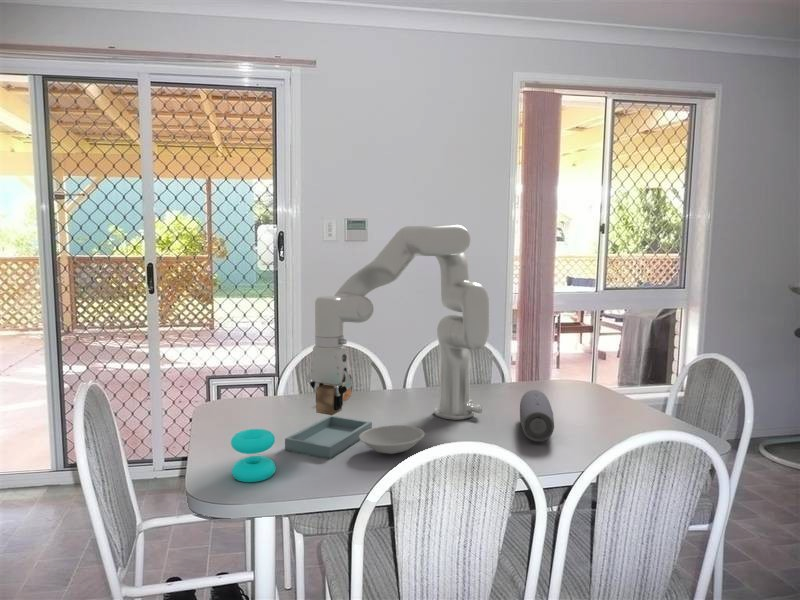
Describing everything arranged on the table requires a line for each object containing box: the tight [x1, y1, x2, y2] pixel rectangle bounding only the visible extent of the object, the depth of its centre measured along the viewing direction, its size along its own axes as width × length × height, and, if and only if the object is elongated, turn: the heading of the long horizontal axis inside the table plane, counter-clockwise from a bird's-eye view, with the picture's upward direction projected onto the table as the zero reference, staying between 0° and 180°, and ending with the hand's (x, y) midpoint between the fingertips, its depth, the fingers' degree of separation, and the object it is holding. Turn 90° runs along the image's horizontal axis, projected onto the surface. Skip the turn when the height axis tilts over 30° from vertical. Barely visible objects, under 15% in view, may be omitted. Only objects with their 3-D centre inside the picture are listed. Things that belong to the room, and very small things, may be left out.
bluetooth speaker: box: [519, 389, 555, 442], centre depth 168 cm, size 23×9×10 cm, turn 170°
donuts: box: [230, 428, 276, 483], centre depth 137 cm, size 10×10×10 cm
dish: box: [359, 424, 426, 455], centre depth 151 cm, size 18×14×5 cm
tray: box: [284, 415, 373, 460], centre depth 160 cm, size 14×22×3 cm, turn 154°
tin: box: [343, 373, 353, 403], centre depth 199 cm, size 15×3×8 cm, turn 168°
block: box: [315, 384, 343, 416], centre depth 158 cm, size 5×5×7 cm
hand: (329, 407), depth 159 cm, fingers closed on block, 4 cm apart
